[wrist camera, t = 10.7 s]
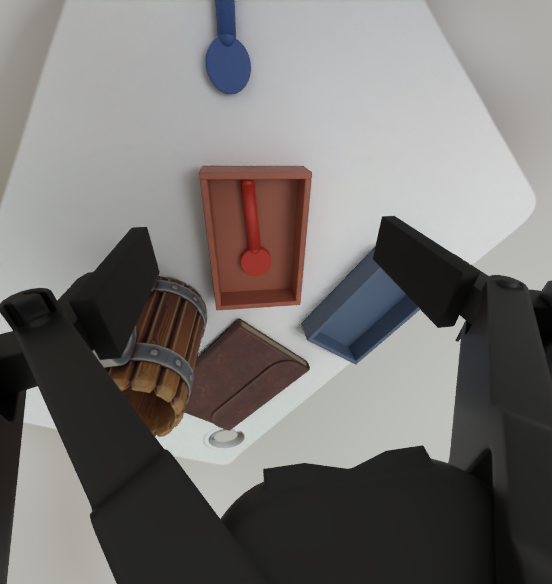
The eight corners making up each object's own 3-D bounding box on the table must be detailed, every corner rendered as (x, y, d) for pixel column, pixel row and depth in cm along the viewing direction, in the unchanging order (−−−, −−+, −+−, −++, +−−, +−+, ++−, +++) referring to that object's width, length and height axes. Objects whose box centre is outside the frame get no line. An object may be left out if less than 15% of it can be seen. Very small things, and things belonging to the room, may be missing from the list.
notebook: (158, 393, 43) (155, 404, 42) (238, 317, 37) (238, 327, 36) (230, 421, 51) (230, 431, 49) (307, 361, 44) (311, 371, 43)
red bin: (202, 165, 26) (199, 172, 24) (303, 166, 28) (312, 172, 25) (217, 294, 35) (216, 310, 32) (294, 289, 36) (300, 304, 33)
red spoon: (228, 175, 27) (228, 178, 26) (264, 172, 27) (265, 175, 26) (242, 273, 33) (242, 279, 32) (271, 270, 33) (272, 276, 32)
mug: (214, 334, 38) (207, 439, 26) (137, 344, 37) (92, 458, 25) (189, 229, 30) (160, 312, 17) (88, 239, 29) (-18, 334, 16)
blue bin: (377, 244, 34) (391, 256, 31) (421, 281, 39) (437, 294, 36) (301, 323, 40) (307, 340, 37) (347, 348, 44) (355, 364, 41)
